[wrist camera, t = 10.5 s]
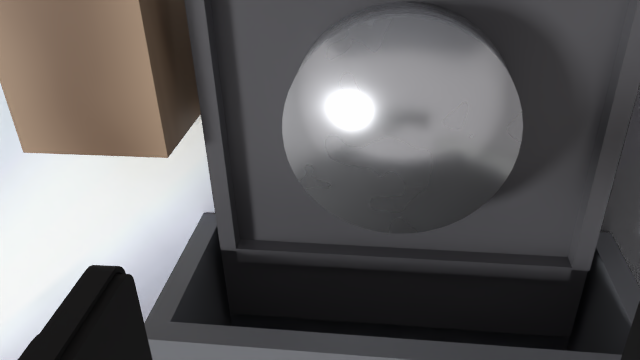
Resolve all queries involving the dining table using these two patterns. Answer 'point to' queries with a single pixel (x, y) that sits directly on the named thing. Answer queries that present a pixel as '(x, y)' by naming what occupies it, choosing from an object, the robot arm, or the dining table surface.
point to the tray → (439, 244)
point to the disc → (402, 118)
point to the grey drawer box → (366, 338)
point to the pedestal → (98, 75)
